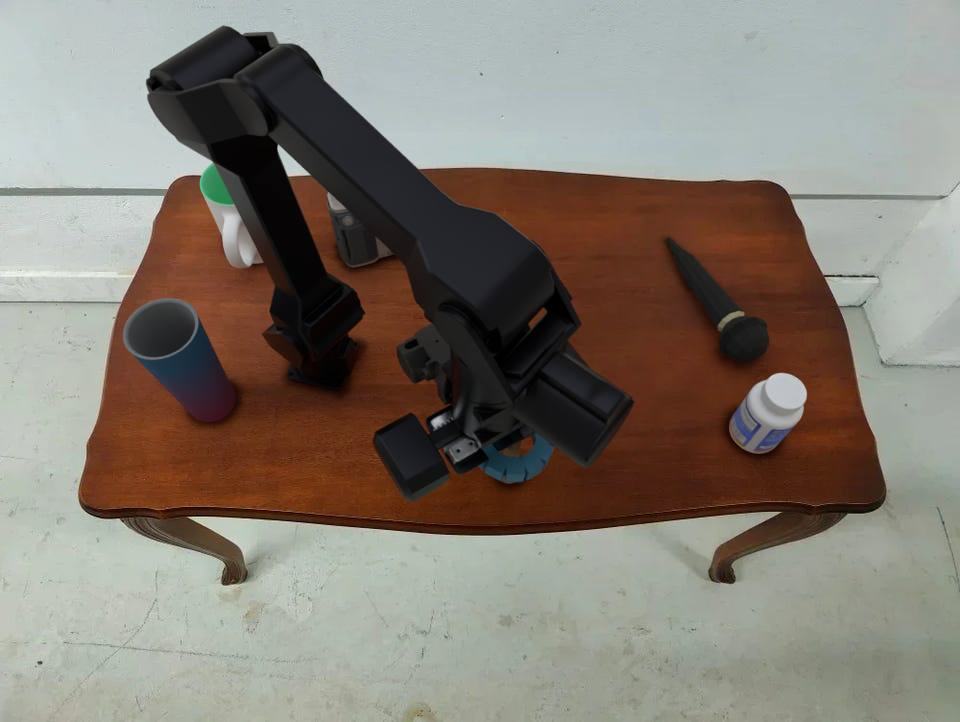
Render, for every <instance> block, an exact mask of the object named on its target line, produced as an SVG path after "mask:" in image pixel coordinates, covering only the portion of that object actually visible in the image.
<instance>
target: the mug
mask: <svg viewBox="0 0 960 722" xmlns="http://www.w3.org/2000/svg"><path fill="white" fill-rule="evenodd" d="M199 188H200V192H201V193H202V196H203V198H204V200H205V202H206V204H207V206H208V208H209V210H210V213H211V215H212V217H213V220H214V221H215V224H216V226H217V228H218V230H219V233H220V234H221V237H222V246H223V251H224V254H225V257H226V259H227V261H228V263H229V264H230V265H231V267H233V268H236V269H248V268H250V267H251V266H252V264H253V265H254V264H256V265H257V264H264V262H263V260H262V258H261V257H260V255H259V253H258V251H257V249H256V247H255V245H254V243H253V241H252V239H251V237H250V235H249V233H248V231H247V229H246V227H245V225H244V223H243V221H242V219H241V217H240V215H239V213H238V211H237V209H236V207H235V205H234V203H233V201H232V199H231V197H230V195H229V193H228V191H227V189H226V187H225V185H224V183H223V181H222V179H221V177H220V175H219V173H218V171H217V169H216V167H215V165H214V163H213V162H212V163H210V164H209V165H208V166H207V167H206V168H205V169H204V170H203V172H202V174H201V176H200V179H199Z"/></svg>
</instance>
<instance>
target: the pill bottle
mask: <svg viewBox="0 0 960 722" xmlns="http://www.w3.org/2000/svg"><path fill="white" fill-rule="evenodd" d="M807 396H808V391H807V389H806V386H805V385H804V383H803V382H802V381H801V380H800V379H799V378H797V377H796V376H795V375H793V374H791V373H785V372H778V373H774V374H772V375H771V376H769V377H768V378H767V379H765V380H761V381H759V382H758V383H756V384H755V385H754V386H752V388H751V389H750V390H749V392H748V393H747V395H746V396H745V397H744V399H743V400H742V402H741V403H740V405H739V406H738V408H737V409H736V411H734V413H733V415H732V417H731V418H730V420H729V424H728V425H729V427H728V428H729V433H730V437H731V439H732V440H733V441H734V442H735V444H736V445H737V446H739V448H741V449H742V450H744V451H746V452H749V453H752V454H758V455H759V454H766V453H769V452H770V451H772V450H773V449H775V448H776V447H777V446H778V445H779V444H780V443H781V442H782V441H783V439H784V438H785V437H787V435H788V434H789V433H790V432H791V431H792V429H794V427H795V426H796V425H797V424H798V423H799V422H800V420H801V418H802V416H803V414H804V410H805V409H804V404H805V403H806V401H807V398H808V397H807Z"/></svg>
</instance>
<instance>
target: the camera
mask: <svg viewBox="0 0 960 722" xmlns="http://www.w3.org/2000/svg"><path fill="white" fill-rule="evenodd" d="M325 202H326V206H327V209H328V213H329V217H330V221H331V225H332V229H333V236H334V238H335V242H336V246H337V249H338V251H339V255H340V258H341V260H342V261H343V262H344V264H345V265H347V266H348V267H349V268H352V269H353V268H354V269H355V268H360V267H364V266H367V265H371V264H374V263H375V262H377V261H378V260H379V259H381V258H385V257H389V256H393V255H394V254H393V253H392V252H391V251H390V250H389V249H388V248H387V247H386V246H385V245H384V244H383V243H382V242H381V241H380V240H379V239H378V238H377V237H376V236H375V235H374V234H372V233H371V232H370V231H369V230H368V229H367V228H366V227H365V226H364V225H363V224H362V223H361V222H360V221H359V220H358V219H357V218H356V217H354V216H353V215H352V214H351V213H350V212H349V211H348V210H347V209H346V208H345V207H344V206H343V205H342V204H341V203H340V202H339V201H338V200H336V199H335V198H334V197H333V196H332V195H331V194H330V193H329V192H328V191H327V192H326V196H325ZM394 256H395V255H394Z"/></svg>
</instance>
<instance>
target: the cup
mask: <svg viewBox="0 0 960 722" xmlns="http://www.w3.org/2000/svg"><path fill="white" fill-rule="evenodd" d="M122 342H123V344H124V346H125V349H126V350H127V351H128V352H129V353H130V354H131V355H132V356H133V357H134V358H135V359H136V360H137V361H138V362H139V363H140V364H141V365H142V366H143V368H144V369H146V370H147V371H148V372H149V373H150V374H151V375H152V376H153V377H154V378H155V380H157V382H159V384H161V385H162V386H163V388H164V389H165V390H167V391H168V393H170V395H171V396H172V397H174V399H175V400H177V402H179V404H180V405H181V406H182V407H183V408H184V409H185V410H186V411H187V412H188V413H189V414H190V415H191V416H192V417H193V418H195V420H197V421H199V422H202V423H216V422H219V421H220V420H222V419H224V418H226V417H227V416H228V415H229V414H230V413H231V412H232V411H233V409H234V407H235V405H236V400H237V399H236V398H237V396H236V393H235V390H234V388H233V386H232V384H231V382H230V380H229V377H228V375H227V374H226V371H225V369H224V367H223V366H222V363H221V361H220V358H219V357H218V354H217V352H216V350H215V348H214V346H213V343H212V342H211V340H210V337H209V335H208V334H207V332H206V328H205V327H204V325H203V323H202V321H201V319H200V316H199V315H198V312H197V310H196V309H195V307H194V306H192V304H190V303H189V302H187V301H185V300H183V299H179V298H176V297H175V298H173V297H163V298H157V299H154V300H151V301H149V302H146V303H145V304H143V305H141V306H139V307H138V308H137V309H135V311H134V312H133V313H132V314H130V316H129V317H128V319H127V320H126V322H125V324H124V327H123V330H122Z"/></svg>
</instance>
